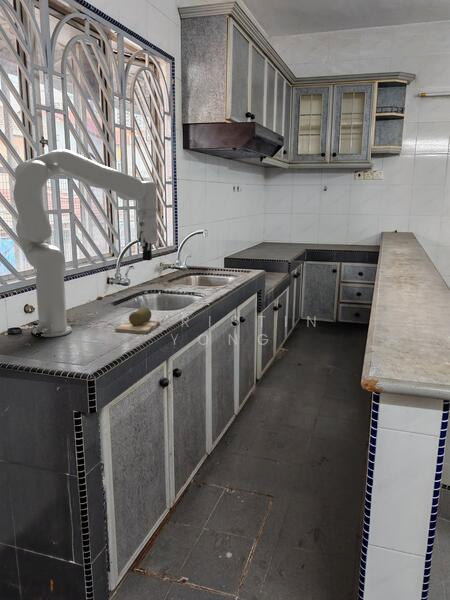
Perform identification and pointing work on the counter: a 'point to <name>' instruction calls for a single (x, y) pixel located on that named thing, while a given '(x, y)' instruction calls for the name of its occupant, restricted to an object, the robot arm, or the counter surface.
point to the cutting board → (137, 327)
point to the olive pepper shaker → (140, 316)
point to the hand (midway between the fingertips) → (147, 259)
